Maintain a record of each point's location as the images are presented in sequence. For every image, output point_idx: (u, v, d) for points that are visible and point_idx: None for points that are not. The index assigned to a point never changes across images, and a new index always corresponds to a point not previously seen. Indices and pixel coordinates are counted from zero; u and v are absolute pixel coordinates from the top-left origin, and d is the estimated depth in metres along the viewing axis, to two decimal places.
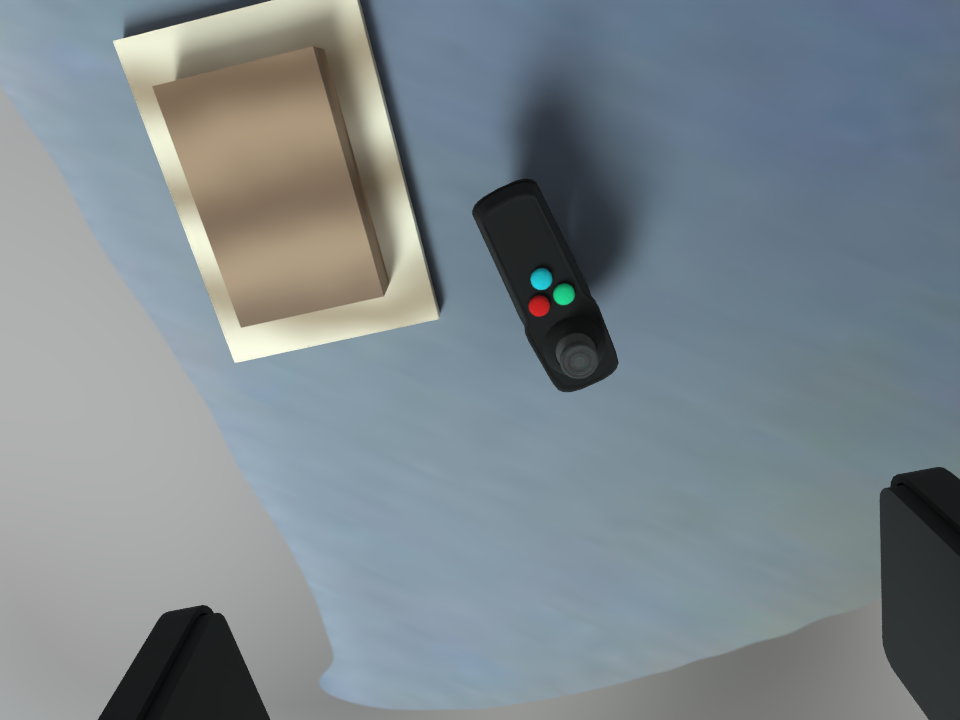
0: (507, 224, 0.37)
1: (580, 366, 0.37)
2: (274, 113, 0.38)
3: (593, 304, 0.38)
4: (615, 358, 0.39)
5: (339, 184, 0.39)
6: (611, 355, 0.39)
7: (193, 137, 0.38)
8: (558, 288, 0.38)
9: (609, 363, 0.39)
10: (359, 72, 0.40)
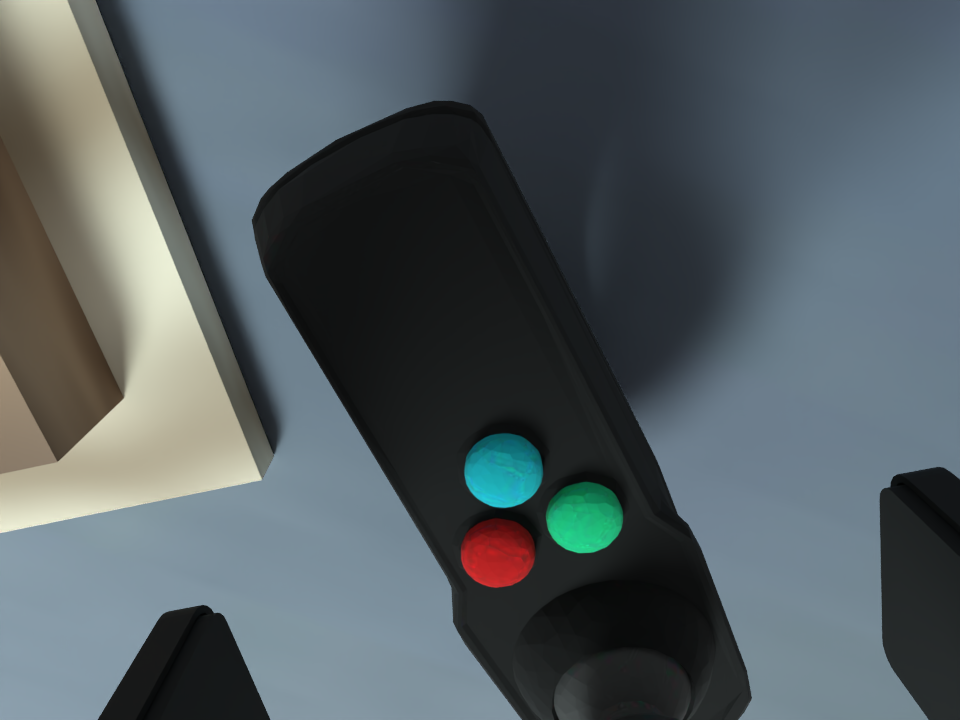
0: (367, 278, 0.09)
1: None
2: None
3: (685, 544, 0.11)
4: (745, 691, 0.12)
5: None
6: (733, 683, 0.12)
7: None
8: (564, 502, 0.10)
9: (724, 703, 0.12)
10: None
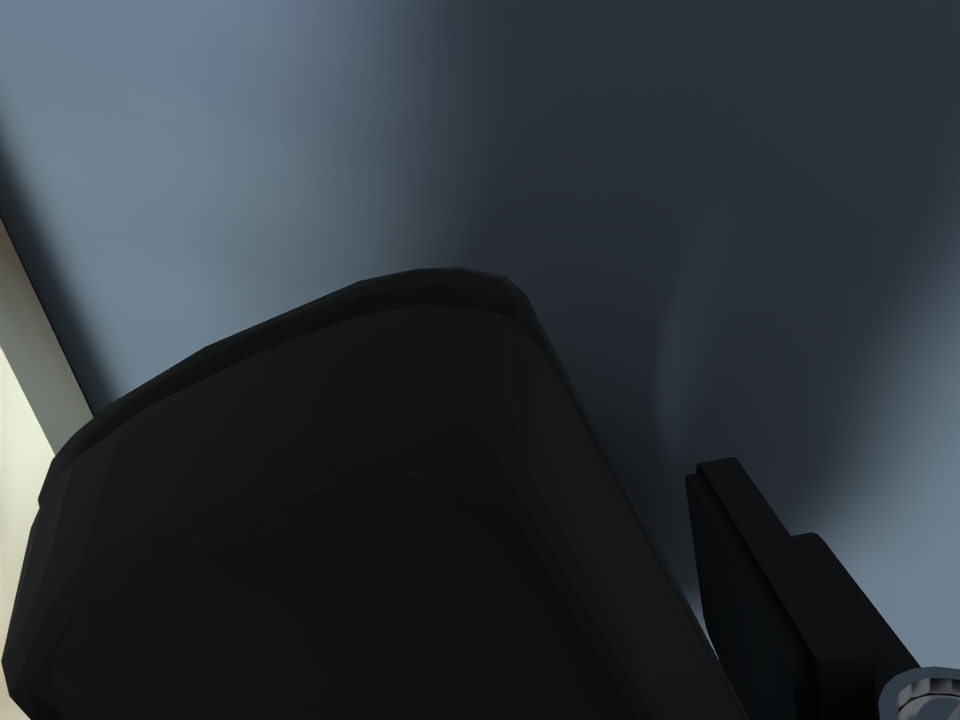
0: (254, 702, 0.04)
1: None
2: None
3: None
4: None
5: None
6: None
7: None
8: None
9: None
10: None
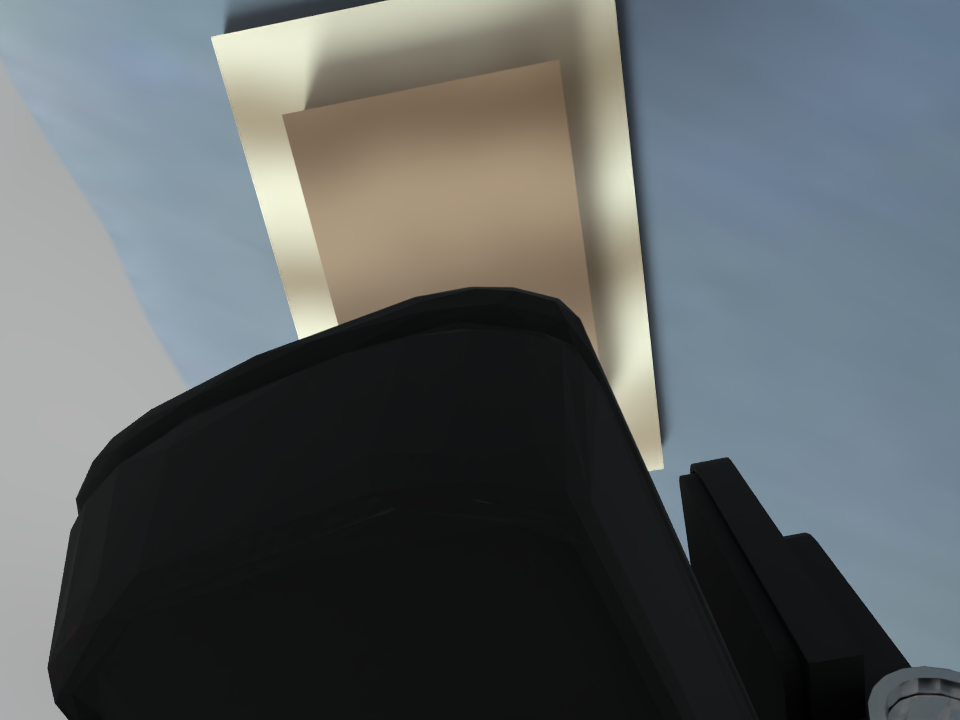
0: (300, 717, 0.04)
1: None
2: (478, 167, 0.23)
3: None
4: None
5: (568, 282, 0.24)
6: None
7: (341, 199, 0.23)
8: None
9: None
10: (600, 103, 0.25)
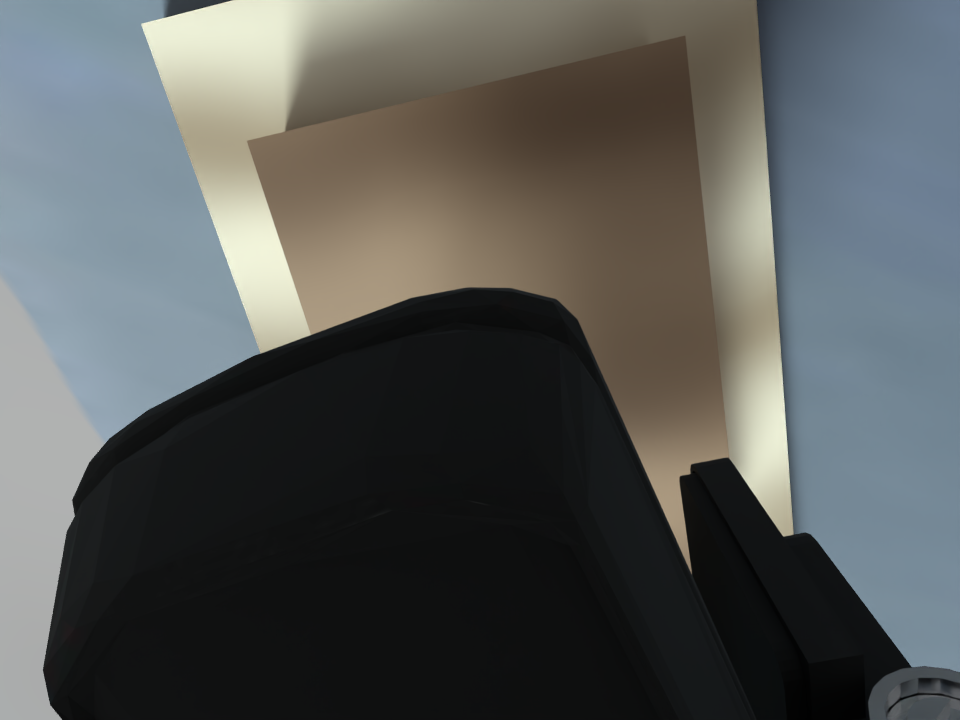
0: (296, 719, 0.04)
1: None
2: (555, 210, 0.15)
3: None
4: None
5: (689, 374, 0.16)
6: None
7: (344, 264, 0.15)
8: None
9: None
10: (725, 100, 0.17)
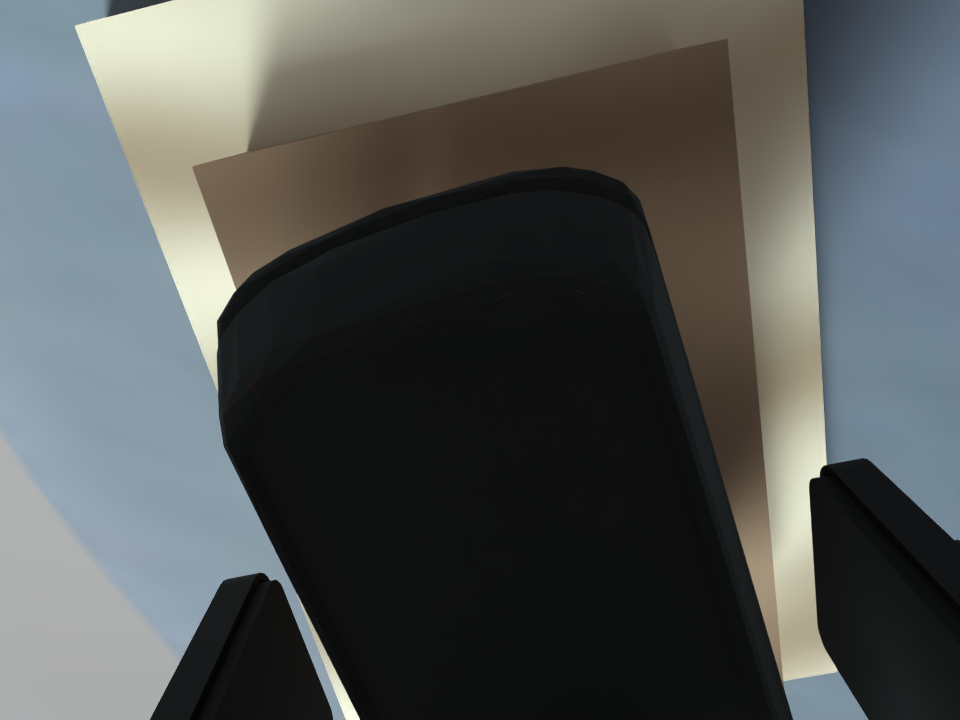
0: (412, 474, 0.05)
1: None
2: None
3: None
4: None
5: (724, 440, 0.14)
6: None
7: None
8: None
9: None
10: (764, 116, 0.14)
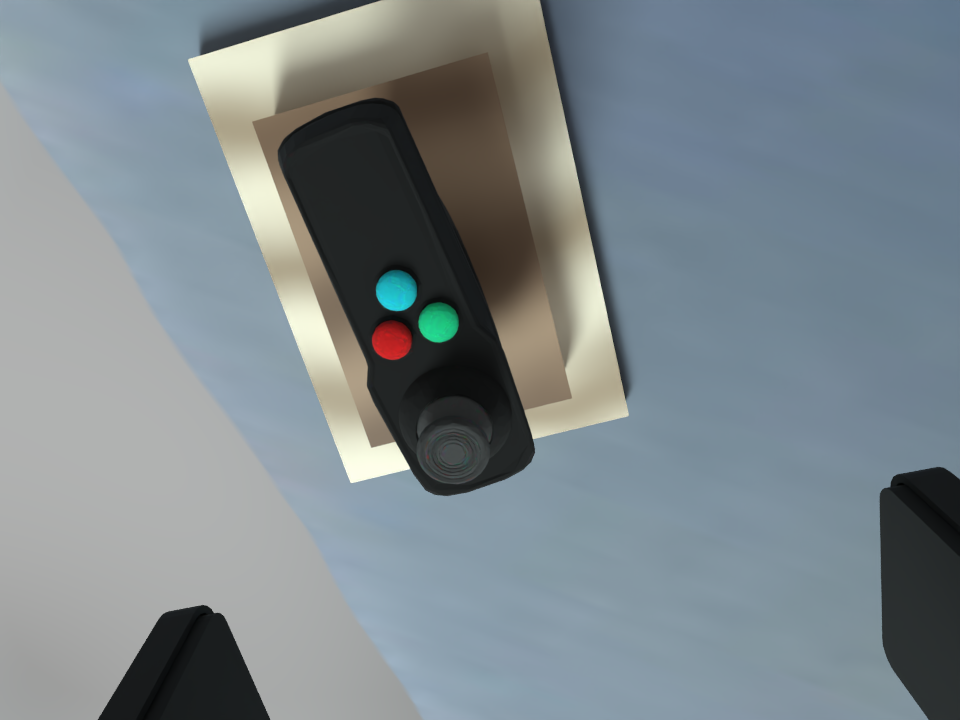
0: (333, 179, 0.19)
1: (454, 462, 0.19)
2: (427, 153, 0.26)
3: (493, 345, 0.21)
4: (529, 444, 0.22)
5: (517, 249, 0.27)
6: (522, 439, 0.22)
7: None
8: (427, 311, 0.20)
9: (518, 452, 0.22)
10: (535, 88, 0.28)
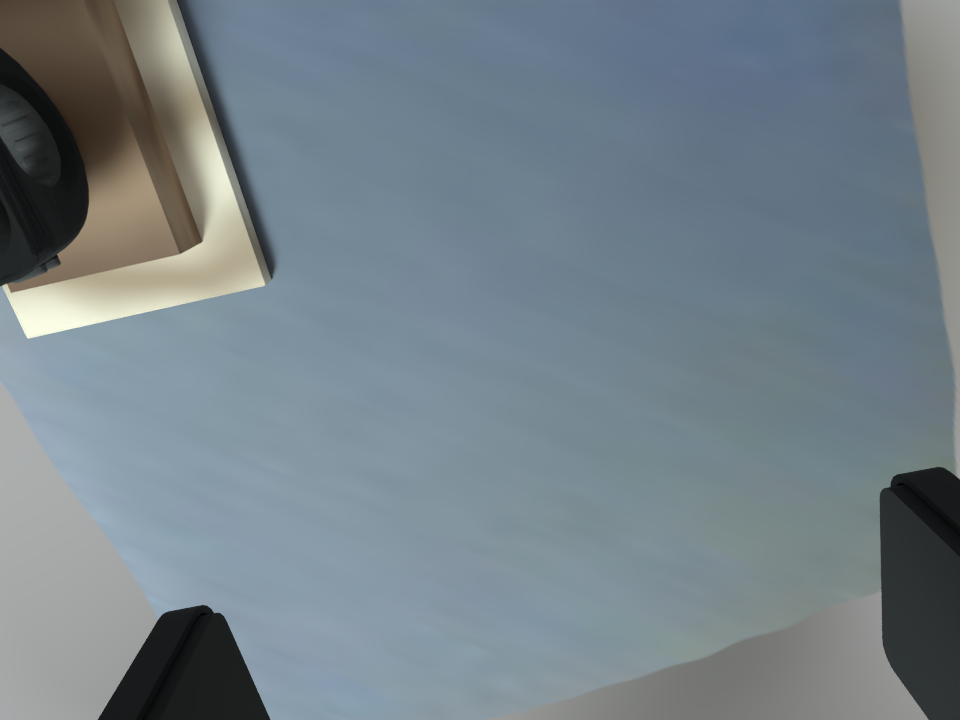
0: None
1: None
2: (19, 22, 0.31)
3: None
4: (29, 248, 0.26)
5: (110, 114, 0.32)
6: (22, 242, 0.26)
7: None
8: None
9: (21, 254, 0.26)
10: None
